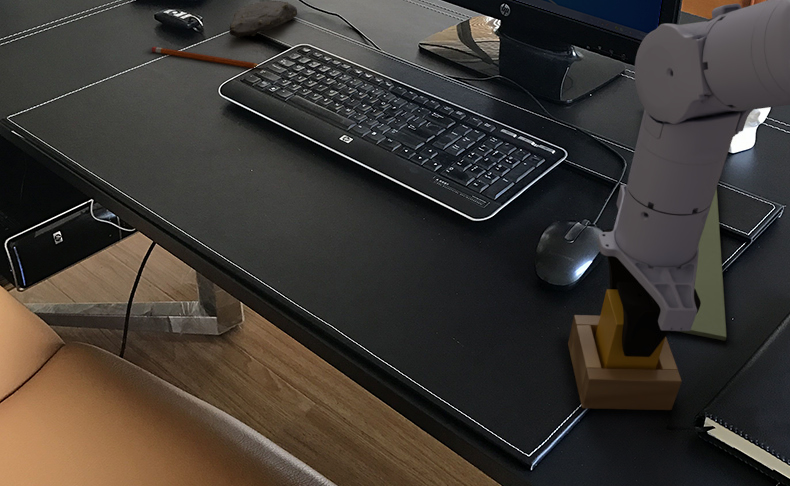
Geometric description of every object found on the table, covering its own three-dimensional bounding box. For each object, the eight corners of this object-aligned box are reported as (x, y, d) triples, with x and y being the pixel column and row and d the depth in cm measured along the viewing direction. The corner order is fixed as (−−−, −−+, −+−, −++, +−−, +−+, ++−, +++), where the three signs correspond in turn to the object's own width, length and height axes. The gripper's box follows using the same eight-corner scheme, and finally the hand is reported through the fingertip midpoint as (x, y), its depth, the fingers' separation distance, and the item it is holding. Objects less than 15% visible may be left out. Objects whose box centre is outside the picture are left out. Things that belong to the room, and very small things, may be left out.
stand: (671, 410, 63) (682, 381, 61) (581, 408, 63) (589, 379, 61) (650, 345, 69) (659, 316, 66) (567, 343, 69) (573, 314, 66)
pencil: (154, 50, 114) (153, 46, 113) (267, 69, 110) (267, 64, 109) (151, 52, 113) (150, 48, 113) (265, 71, 109) (264, 66, 109)
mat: (725, 340, 69) (726, 336, 69) (632, 322, 71) (633, 318, 70) (711, 122, 99) (712, 119, 99) (646, 113, 101) (647, 109, 101)
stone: (289, 8, 125) (302, -11, 121) (302, 42, 124) (315, 25, 120) (213, 10, 118) (224, -10, 114) (226, 46, 117) (238, 28, 113)
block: (649, 387, 64) (669, 325, 59) (600, 386, 64) (616, 324, 59) (638, 351, 67) (656, 289, 62) (591, 350, 67) (606, 289, 62)
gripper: (592, 135, 60) (565, 271, 68) (634, 256, 48) (596, 401, 57) (684, 137, 60) (646, 273, 68) (749, 259, 48) (694, 403, 57)
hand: (630, 332), depth 63 cm, fingers closed on block, 4 cm apart
